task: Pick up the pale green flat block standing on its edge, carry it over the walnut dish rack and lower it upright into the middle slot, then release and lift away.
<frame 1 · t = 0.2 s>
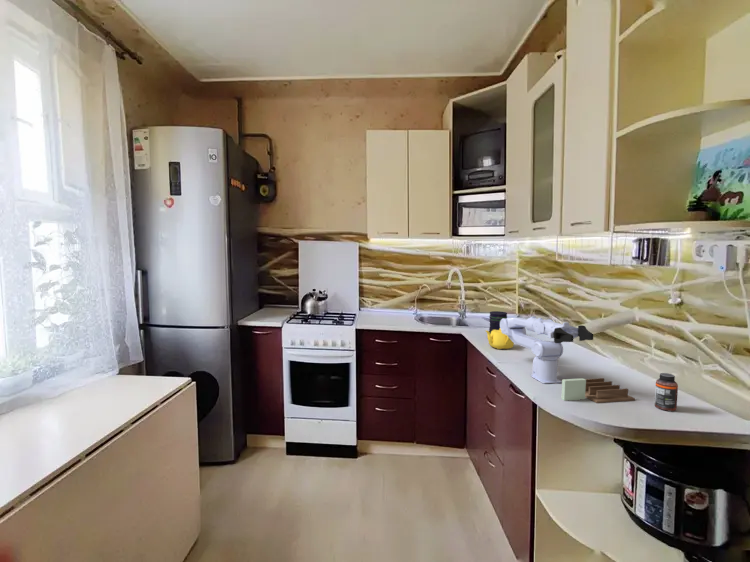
hand: (582, 337, 140), 21 cm above the countertop, tool horizontal, fingers open, 7 cm apart
storage jar: (497, 338, 237), on the countertop
supplement bottle: (665, 408, 134), on the countertop
pale green flat block: (573, 399, 141), on the countertop
teapot: (499, 348, 213), on the countertop
dish rack: (600, 394, 146), on the countertop
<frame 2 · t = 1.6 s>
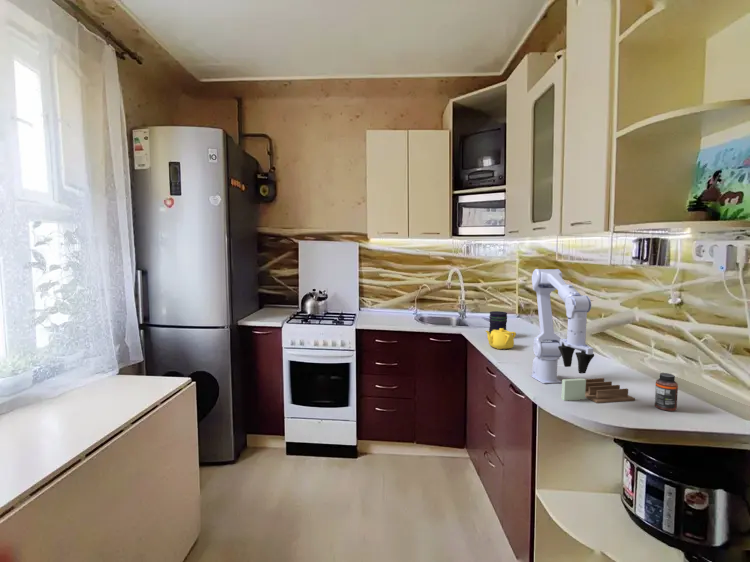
hand: (574, 369, 140), 10 cm above the countertop, tool pointing down, fingers open, 7 cm apart
nothing on the countertop moved.
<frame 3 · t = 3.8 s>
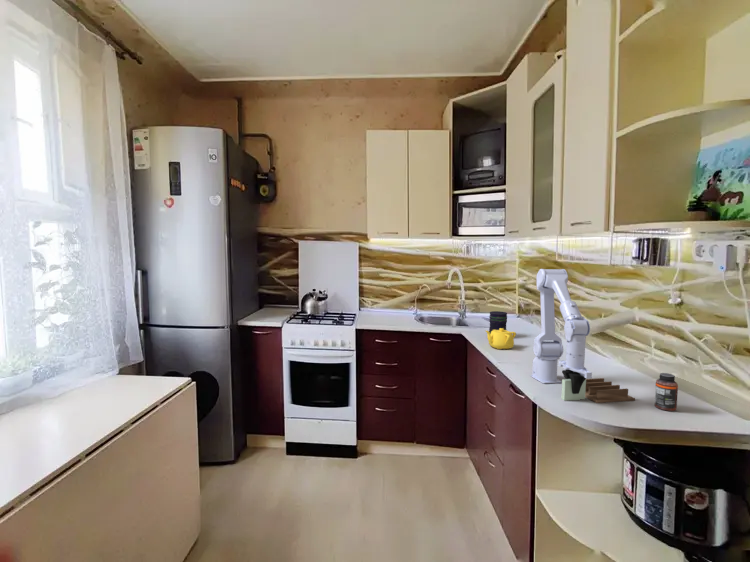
hand: (573, 392, 141), 2 cm above the countertop, tool pointing down, fingers closed on pale green flat block, 2 cm apart
pale green flat block: (573, 399, 141), on the countertop, touching gripper
everything else where it was.
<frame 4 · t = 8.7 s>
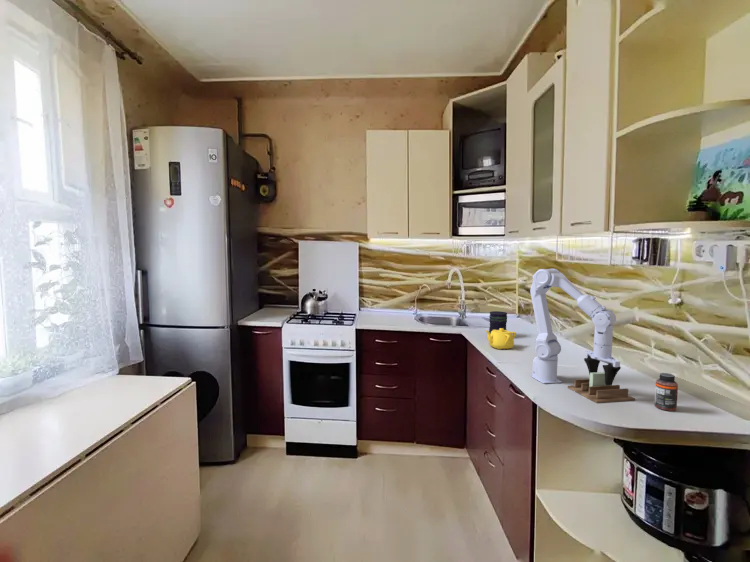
hand: (600, 381, 146), 5 cm above the countertop, tool pointing down, fingers open, 7 cm apart
pale green flat block: (600, 391, 146), point 1 cm above the countertop, touching dish rack
everything else where it was.
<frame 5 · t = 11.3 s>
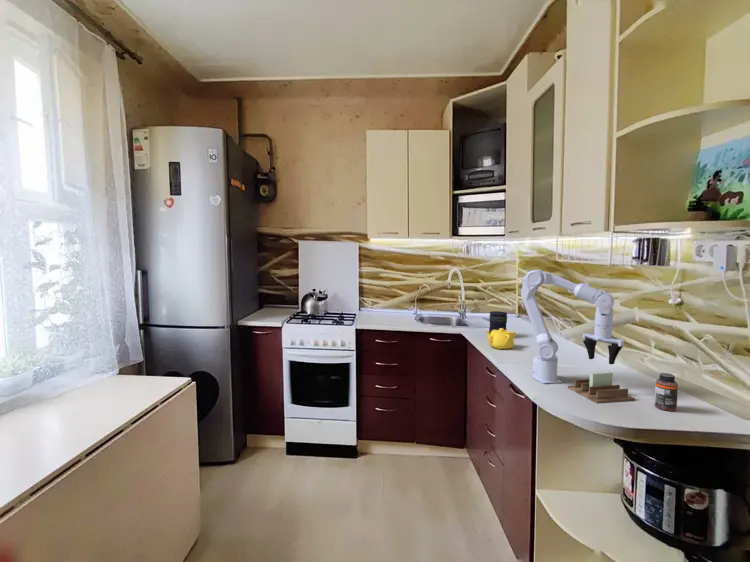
hand: (601, 361, 151), 10 cm above the countertop, tool pointing down, fingers open, 7 cm apart
nothing on the countertop moved.
at the end: pale green flat block 0.0 cm off-centre on the dish rack, point 0.8 cm above the dish rack's base; pale green flat block tilted 0°; the gripper is holding nothing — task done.
